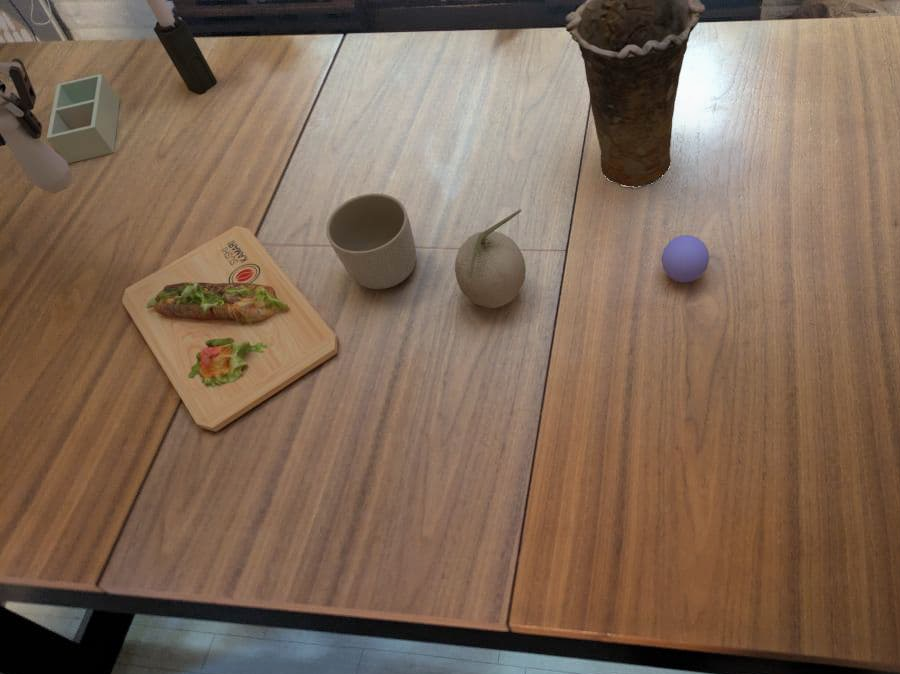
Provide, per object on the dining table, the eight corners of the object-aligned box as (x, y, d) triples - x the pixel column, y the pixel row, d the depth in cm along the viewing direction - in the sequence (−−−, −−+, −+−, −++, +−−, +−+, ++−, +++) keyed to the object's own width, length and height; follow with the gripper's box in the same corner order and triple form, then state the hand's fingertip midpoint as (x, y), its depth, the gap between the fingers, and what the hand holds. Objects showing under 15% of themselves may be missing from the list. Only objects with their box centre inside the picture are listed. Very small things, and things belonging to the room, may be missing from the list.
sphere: (670, 252, 112) (672, 219, 106) (712, 264, 110) (718, 232, 104) (653, 284, 109) (655, 252, 103) (697, 297, 107) (702, 265, 101)
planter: (382, 312, 111) (361, 266, 102) (334, 275, 116) (309, 227, 107) (439, 265, 115) (423, 216, 106) (390, 231, 120) (370, 181, 111)
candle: (203, 74, 149) (134, -52, 127) (219, 81, 147) (151, -45, 126) (185, 88, 147) (112, -38, 126) (201, 95, 145) (129, -31, 124)
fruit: (449, 316, 109) (427, 249, 96) (479, 262, 114) (462, 191, 102) (511, 333, 106) (497, 265, 94) (539, 277, 112) (529, 205, 99)
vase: (649, 212, 116) (656, 61, 94) (559, 174, 123) (545, 25, 100) (704, 148, 123) (723, -7, 100) (616, 115, 130) (615, -37, 107)
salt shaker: (45, 172, 109) (-18, 98, 98) (82, 168, 109) (23, 93, 98) (35, 199, 106) (-32, 125, 95) (72, 194, 106) (10, 120, 95)
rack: (67, 163, 138) (46, 138, 133) (76, 109, 147) (57, 83, 142) (114, 152, 138) (94, 126, 133) (120, 99, 147) (102, 73, 142)
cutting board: (346, 349, 108) (329, 319, 101) (208, 439, 102) (181, 413, 95) (247, 228, 123) (226, 195, 117) (123, 300, 118) (94, 269, 111)
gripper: (-14, -7, 88) (74, 112, 103) (-130, 16, 88) (-25, 132, 102) (-25, 26, 84) (68, 145, 99) (-147, 50, 84) (-35, 166, 98)
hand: (20, 138), depth 100 cm, fingers closed on salt shaker, 4 cm apart
